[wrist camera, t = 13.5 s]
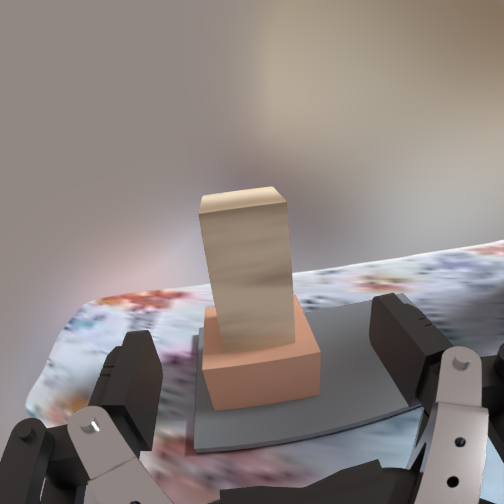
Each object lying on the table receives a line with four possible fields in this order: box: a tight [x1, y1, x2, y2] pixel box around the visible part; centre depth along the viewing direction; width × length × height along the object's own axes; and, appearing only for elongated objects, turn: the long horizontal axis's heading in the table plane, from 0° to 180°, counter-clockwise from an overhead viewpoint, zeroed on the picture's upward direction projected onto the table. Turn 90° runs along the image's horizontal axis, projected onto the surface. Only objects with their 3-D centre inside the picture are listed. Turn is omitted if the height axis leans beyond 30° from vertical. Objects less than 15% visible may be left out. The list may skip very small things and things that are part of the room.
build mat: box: [194, 293, 433, 453], centre depth 26 cm, size 15×23×1 cm, turn 96°
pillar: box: [198, 187, 296, 353], centre depth 22 cm, size 5×5×10 cm
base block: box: [202, 295, 321, 411], centre depth 25 cm, size 8×8×4 cm
